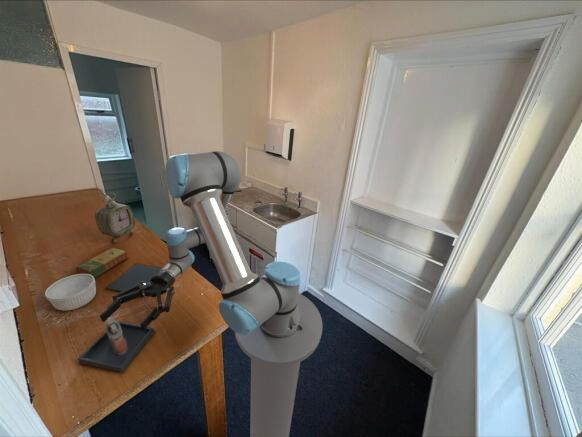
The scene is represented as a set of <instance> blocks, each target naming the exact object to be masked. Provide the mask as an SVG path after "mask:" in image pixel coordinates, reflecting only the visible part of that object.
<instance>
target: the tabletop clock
mask: <svg viewBox="0 0 582 437" xmlns="http://www.w3.org/2000/svg"><path fill="white" fill-rule="evenodd" d="M109 195H114V197H113V198H108V200H105V198H106V197H107V196H109ZM116 198H117V195H116V193H114V192H108V193H106V194H104V195H103V197H102V202H104V203H105V206H102V207H101V208H99V209H96V211H94V219H95V224H96V226H97V229H98V230H99V232H100V234H102V235H105V236H109V237H112V238H113V240H112V242H113V243H115V244H116V243H117V242H118V240H117V239H116V238H117V237H120V236H122V235H124V234H125V233H128V232H129V233H130V234H134V230H133V228H135V221H136V220H135V216H134V212H133V209H132V207H131V205H128V204H122V203H117V202H116V201H114V200H115V199H116Z"/></svg>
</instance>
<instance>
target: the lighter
mask: <svg viewBox="0 0 582 437" xmlns="http://www.w3.org/2000/svg"><path fill="white" fill-rule="evenodd" d="M118 321H119V320H117V319H116V318H115V319H114V318H113V317H112V316H110V317H109V318H108V319H107V320H106V323H105V325H104V327H105V332H107V335H108V337H109V340H110V342H111V345H112V348H113V350H114V352H115V353H116V354H117V355H118V356H121V355H124V354H125V353H126V352H127V351H128V348H127V343H126V340H125V339H124V337H123V334H122V329H121V326H120V324H119V322H118Z"/></svg>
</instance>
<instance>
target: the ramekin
mask: <svg viewBox="0 0 582 437" xmlns="http://www.w3.org/2000/svg"><path fill="white" fill-rule="evenodd" d="M96 294H97V286H96V279H95V278H94V277H93V276H92V275H90V274H78V273H76V274H72V275H69V276H66V277H63V278H60V279H58V280H57V281H55V282H53V283H52V284H50V285H49V286H48V287H47V288H46V290H45V291H44V296H45V298H46V300H47V301H49V302H50V304H51V305H52V306H53V307H54V309H56V310H58V311H64V312H65V311H73V310H77V309H79V308H82V307H84V306H86V305H87V304H89V303H90V302H91V301H92V300H93V299H94V298H95V297H96Z"/></svg>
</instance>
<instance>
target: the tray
mask: <svg viewBox="0 0 582 437" xmlns="http://www.w3.org/2000/svg"><path fill="white" fill-rule="evenodd" d="M117 321H118V322H119V324H120V326H121V329H122V334H123V337H124V339H125V340H126V343H127V348H128V351H127V352H126V353H125V354H124V355H121V356H118V355H117V354H116V353H115V352H114V350H113V348H112V345H111V342H110V340H109V337H108V335H107V332H106V331H104V332H103V334H101V335H100V336H99V337H98V339H97V340H96V341H94V342H93V344H91V345H90V346H89V347H88V348H87V349H86V350H85V351H84V352H83V353H82V354H81V355H80V356H79V357H78V358H77V360H78V362H79V364H82V365H86V366H91V367H95V368H101V369H103V370H104V369H105V370H110V371H114V372H119V373H124V371H125V370H126V369H127V368H128V366H129V365H130V363H132V361H133V360H134V358H136V356H137V355H138V354H139V352H140V351H141V350H142V349H143V347H144V346H145V344H146V343H147V342H148V341H149V340H150V338H151V337H152V336H153V335H154V334H155V330H154V327H150V326H147V328H146V329H145V330H142V328H141V324H135V323H130V322H125V321H119V320H117Z"/></svg>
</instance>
